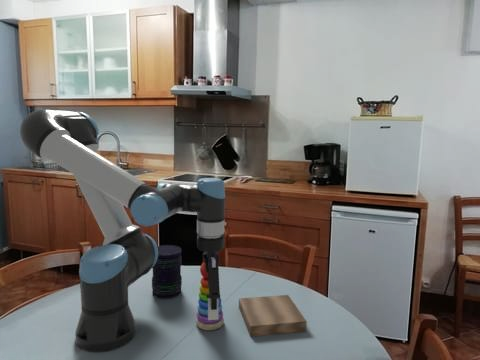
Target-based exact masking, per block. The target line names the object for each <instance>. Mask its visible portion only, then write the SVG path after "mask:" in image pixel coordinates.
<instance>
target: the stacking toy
mask: <svg viewBox="0 0 480 360" xmlns="http://www.w3.org/2000/svg"><path fill="white" fill-rule="evenodd" d="M199 270H200V275H201V276H202V277H201V278H200V286H199V292H198V301H197V302H198V305H197V312H196V318H195V319H196V320H195V324H196V326H197V327H198V328H199V329H201V330H204V331H214V330H218V329H219V328H221V327H222V326H223V325H224V323H225V322H224V321H225V320H224V312H223V305H222V298H221V297H220V298H219V314H218V320H208V298H206V296H207V295H209V287H208V273H206V270H205V263H203V262H202V263H201V266H200V267H199Z"/></svg>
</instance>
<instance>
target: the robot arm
mask: <svg viewBox="0 0 480 360" xmlns="http://www.w3.org/2000/svg"><path fill="white" fill-rule="evenodd" d="M19 134H20V138H21V141H22V143H23V145H24V146H25V148H27V149H28V150H29V151H30V152H31V153H32V154H34V155H35V156H36V157H38V158H39V159H41V160H43V162H47V163H51V162H53V163H54V164H57V165H59V167H61V168H63V169H65V170H66V171H68V172H70V173H71V174H72V175H73V177H74V179H75V181H76V183H77V185H78V186H79V189H80V191H81V193H82V195H83V197H84V199H85V201H86V203H87V205H88V207H89V209H90V211H91V213H92V215H93V218H94V219H95V221H96V222H97V224H98V227H99V228H100V231H101V233H102V235H103V237H104V239H103V243H102V245H100V246H98V245H97V246H95V247H92V248H90V249H88V250H87V251H86V252H85V253H83V255H82V256H81V258H80V261H79V270H78V274H79V275H78V276H79V284H80V301H81V303H80V305H81V306H80V307H81V313H80V316H79V319H78V322H77V326H76V329H75V334H74V335H75V343H76V345H77V347H79V349H81V350H84V351H87V352H95V353H96V352H108V351H112V350H115V349H118V348H121V347H123V346H124V345H126V344H127V343H128V342H130V341H131V340H132V339H133V338H135V336H136V331H137V330H136V329H137V328H136V327H137V326H136V324H137V323H136V319H135V318H134V315H133V313H132V310H131V307H130V306H129V305H130V304H129V287H130V286H131V285H133V284H134V283H135V282H136V281H137V280H139V279H140V278H141V277H144V276H145V275H147V274H148V273H149V272H150V271H151V270H153V267H154V265H155V264H156V262H157V259H158V245H157V242H156V241H155V239H154V238H152V236H150V235H148V234H146V233H144V232H143V231H142V228H141V227H140V226H142V227H151V226H155V225H158V224H160V223H162V222H164V221H165V220H166V219H167V218H169V217H172V216H174V215H176V214H177V213H179V212H181V213H182V212H183V213H185V212H186V213H187V212H188V213H196V214H197V215H196V216H197V217H196V234H197V236H196V247H197V250H199V251H200V252H203V253H202V264H203V263H205V270H206V273H208V287H209V295H207V296H206V298H208V320H218V314H219V298H221V292H220V290H221V289H220V274H219V273H220V272H219V271H220V270H219V262H220V261H219V255H218V252H219V251H222V250H223V249H224V248H225V235H224V234H225V226H227V222H226V221H225V219H226V218H225V211H226V210H225V209H226V191H225V190H226V189H225V188H226V187H225V180H223V179H221V178H218V177H202V178H199V179H198V180H197V182H196V183H197V184H183V183H173V182H169V183H165V182H162V183H159V184H158V185H157V186H156V187H155V188H154V187H152V186H151V185H149V184H147V183H146V182H145V181H143V180H141V179H139V178H138V177H137V176H135V175H133V174H131V173H129V172H128V171H127V170H125V169H123V168H122V167H120V166H118V165H117V164H115V163H114V162H112V161H110V160H108V159H107V158H105V157H103V156H102V155H100V154H99V153H98V150H99V147H100V145H99V143H98V140H99V134H100V133H99V128H98V125H97V123H96V122H95V120H94V118H92V116H90V115H89V114H87V113H84V112H82V111H78V110H73V109H71V110H61V109H60V110H59V109H56V110H55V109H45V108H43V109H38V110H37V109H36V110H33V111H31V112H30V113H29V114H27V115H26V116H25V117H24V119H22V121H21V123H20V127H19ZM125 208H127V209H128V210H130V214H131V218H133V220H134V222H136V223H137V224H138V225H139V226H138V225H136V224H133V223H132V221H131V219H130V217H129V215H128V213H127V211H126V209H125Z"/></svg>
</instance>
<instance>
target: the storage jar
mask: <svg viewBox="0 0 480 360" xmlns="http://www.w3.org/2000/svg"><path fill="white" fill-rule="evenodd" d="M157 247H158V259H157V262H156V264H155V265H154V267H153V268H152V277H151V288H152V291H151V294H152V296H153V297H154V298H156V299H161V300H170V299H174V298H176V297H178V296H180V295H181V294H182V284H183V281H182V273H181V269H182V263H183V262H182V257H183V256H182V248H181V247H180V246H178V245H173V244H172V245H171V244H166V245H157Z"/></svg>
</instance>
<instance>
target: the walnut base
mask: <svg viewBox="0 0 480 360" xmlns="http://www.w3.org/2000/svg"><path fill="white" fill-rule="evenodd" d="M238 309H239V311H240V314H241V316H242V320H243V322H244V324H245V326H246V329H247V332H248V335H249V336H250V337H258V336H259V337H262V336H269V335H279V334H282V335H283V334H291V333H300V332H301V333H302V332H307V323H308V322H307V319H306V318H305V316H304V315H303V314H302V313H301V311H300V310H299V308H298V307H297V305H296V304H295V303H294V301H293V300H292V298H291V297H290V296H289V294H283V295H280V294H279V295H269V296H268V295H267V296H255V297H254V296H253V297H242V298H241V297H240V298H238Z"/></svg>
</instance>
